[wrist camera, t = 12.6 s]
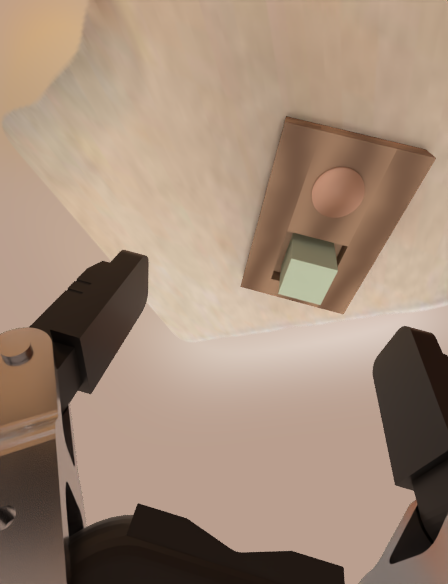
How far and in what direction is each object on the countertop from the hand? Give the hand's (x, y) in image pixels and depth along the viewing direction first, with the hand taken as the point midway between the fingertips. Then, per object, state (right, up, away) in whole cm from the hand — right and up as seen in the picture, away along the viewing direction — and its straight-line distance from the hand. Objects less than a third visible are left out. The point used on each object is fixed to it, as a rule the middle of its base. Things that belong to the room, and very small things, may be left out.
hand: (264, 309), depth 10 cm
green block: (+9, +5, +29) cm, 31 cm away
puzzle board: (+10, +9, +27) cm, 30 cm away
